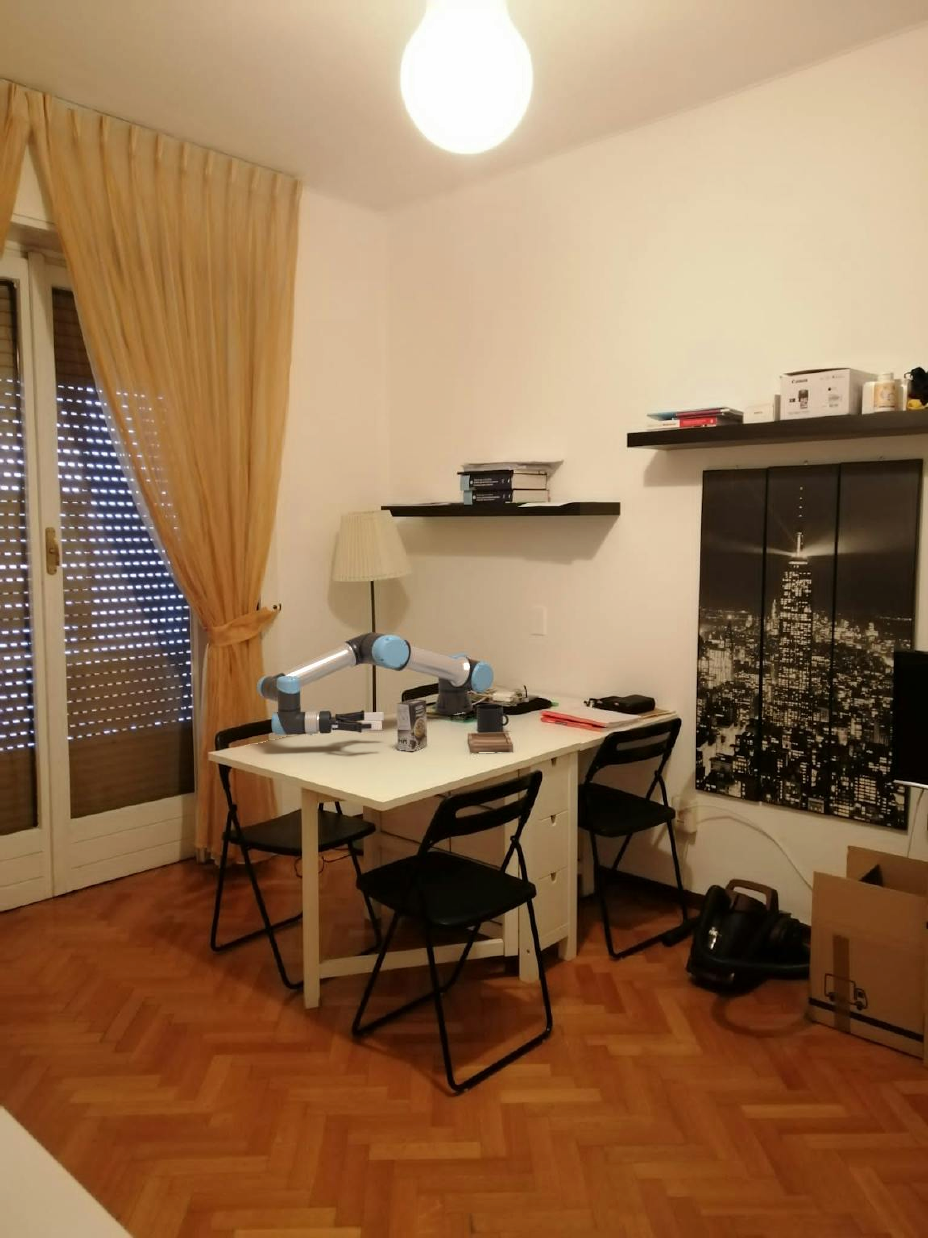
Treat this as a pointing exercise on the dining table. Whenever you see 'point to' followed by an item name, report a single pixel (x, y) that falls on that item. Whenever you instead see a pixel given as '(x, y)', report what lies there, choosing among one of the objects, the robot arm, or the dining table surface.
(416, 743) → the coffee box
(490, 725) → the mug
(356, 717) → the robot arm
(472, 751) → the tray
